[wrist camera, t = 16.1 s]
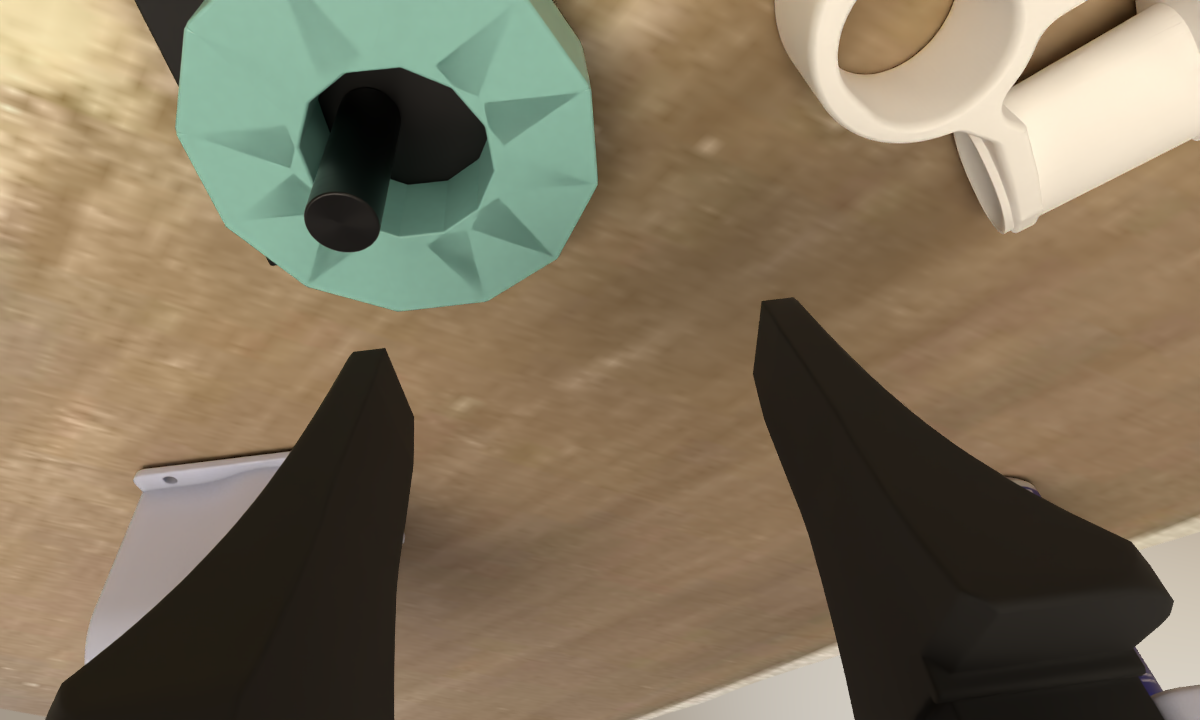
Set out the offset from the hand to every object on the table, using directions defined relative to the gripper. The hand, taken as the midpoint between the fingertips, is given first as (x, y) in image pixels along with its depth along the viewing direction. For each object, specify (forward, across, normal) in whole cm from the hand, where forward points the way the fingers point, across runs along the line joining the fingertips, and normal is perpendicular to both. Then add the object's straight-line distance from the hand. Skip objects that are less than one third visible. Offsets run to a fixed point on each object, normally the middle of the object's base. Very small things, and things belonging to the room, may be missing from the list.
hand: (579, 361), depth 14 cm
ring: (+9, +4, -1) cm, 10 cm away
